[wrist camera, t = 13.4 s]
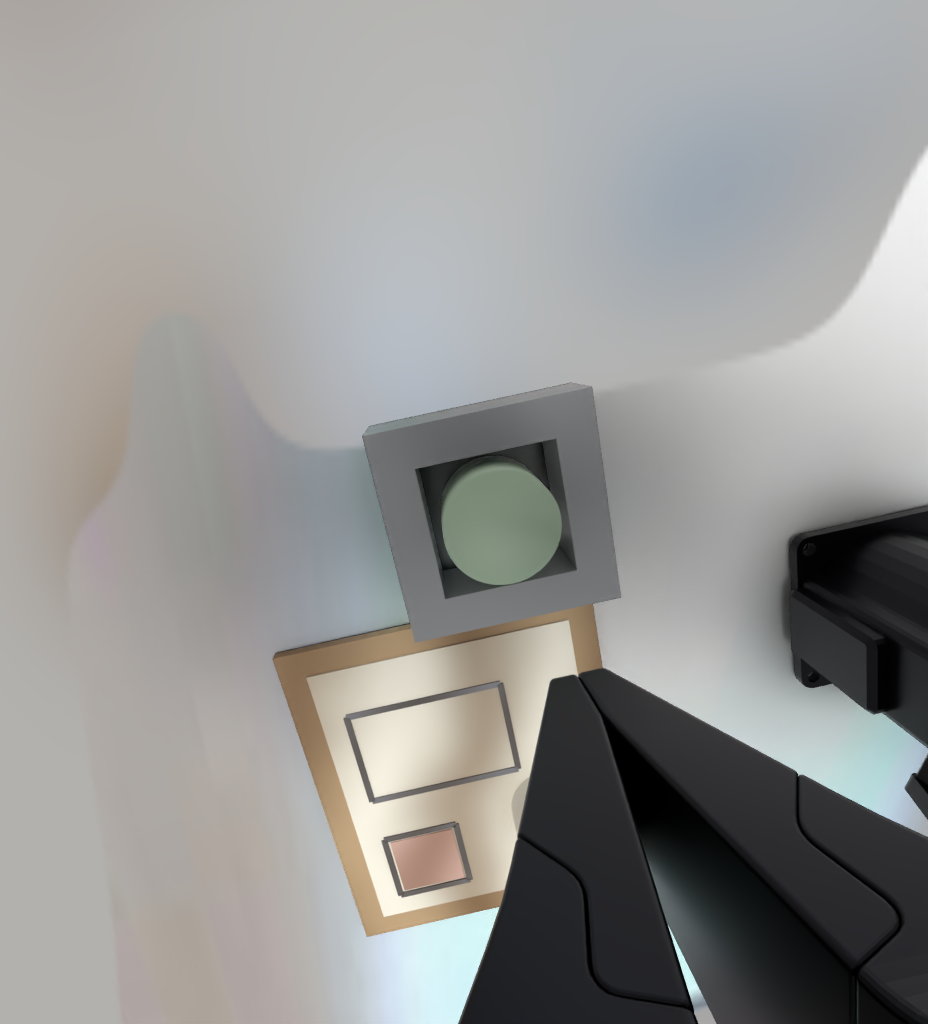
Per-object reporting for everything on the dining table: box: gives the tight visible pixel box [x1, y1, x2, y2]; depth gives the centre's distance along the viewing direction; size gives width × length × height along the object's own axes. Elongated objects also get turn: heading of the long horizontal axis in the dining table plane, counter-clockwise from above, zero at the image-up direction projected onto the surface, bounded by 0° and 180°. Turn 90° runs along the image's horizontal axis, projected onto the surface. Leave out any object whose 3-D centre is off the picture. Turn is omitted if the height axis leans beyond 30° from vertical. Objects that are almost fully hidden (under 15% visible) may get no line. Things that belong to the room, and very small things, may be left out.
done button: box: [440, 456, 562, 585], centre depth 18 cm, size 4×4×2 cm
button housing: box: [362, 383, 621, 643], centre depth 19 cm, size 7×7×2 cm
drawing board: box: [273, 604, 602, 937], centre depth 23 cm, size 12×14×1 cm
